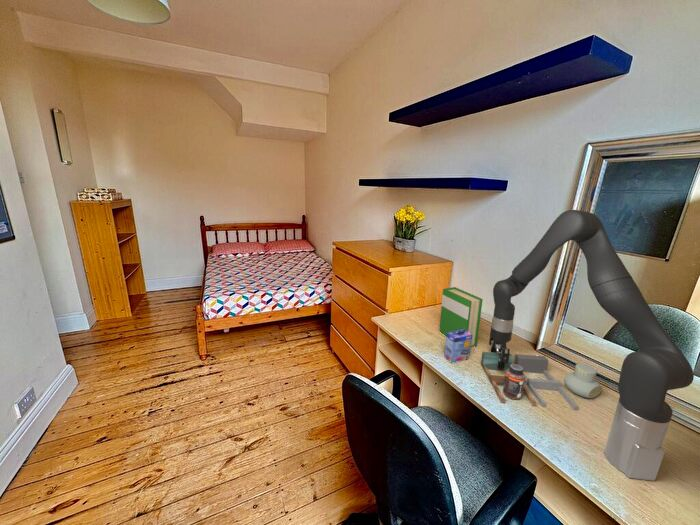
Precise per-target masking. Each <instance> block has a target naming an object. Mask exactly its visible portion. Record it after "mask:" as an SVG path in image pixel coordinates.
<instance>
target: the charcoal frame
mask: <svg viewBox="0 0 700 525" xmlns="http://www.w3.org/2000/svg"><path fill="white" fill-rule="evenodd" d="M513 364H517V365H520V366H522V367H523V373H532V374H533V373H535V374H543V375H544V376H545V377H546V378H547V379H543V378H531V377H528V376H526V375H525V382H524V385H526V386H527V388H528V389H529V392H531V394H532V396H533V397H534V399H536V400H537V402H538V403H539V405H540V406H541V407H543V408H545V407H546V404H547V402H546V401H545V400H544V399H543V397H542V395H541V394H540V393H539V392H538V391H537V389H539V390H550V391H557V392H559V394H560V395H561V397H563V398H564V400H565V401H566V402H567V403H568V405H569V406H570V407H571V409H573V410H574V411H576V410H577V411H578V408H579V405H578V404H577V403H576V402H575V401H574V400H573V398H572V397H571V396H570V395H569V393H567V392H566V391H565V389H564V388H563V387H562V385H563V383H562V382H561V381H560V380H558V379H557V380H556V379H555V378H554V377H553V376H552V375H551V373H550V372H549V371H547V370H548V364H549V359H548V358H547V357H546V356H545V355H533V354H531V355H530V354H521V353H520V354H518V353H516V354H515V356H514V360H513Z"/></svg>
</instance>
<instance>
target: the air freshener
mask: <svg viewBox="0 0 700 525" xmlns="http://www.w3.org/2000/svg"><path fill="white" fill-rule="evenodd" d="M597 374H598V372H597V369H595V368H594V367H593V366H592V365H589V364H586V363H577V364H575V366H574V371H573V372H569V373H568V374H567V375H565V377H564V379H563V383H564V384H563V385H565V387H566V388H567V389H568V390H569V391H570V392H572V393H573V394H574V395H577V396H580V397H582V398H586V399H593V398H595V397H597V396H598V395H600V394H601V392H602V390H603V389H602V388H603V387H602V386H601V384H600V383H599V382H598V380H596V377H597Z"/></svg>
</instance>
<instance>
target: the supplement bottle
mask: <svg viewBox="0 0 700 525" xmlns="http://www.w3.org/2000/svg"><path fill="white" fill-rule="evenodd" d="M525 376H526V374H525V372H523V367H522V366H520V365H517V364H511V365H510V368H509V369H507V371H506V370H505V381H504V386H503V387H502V388H503V390H502V391H503V392H502V393H503V395H504V396H506V397H507V398H510V399H511V400H512V399H513V400H521V399H522V396H523V394H524V392H523V387H524V385H525Z"/></svg>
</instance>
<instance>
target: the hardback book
mask: <svg viewBox="0 0 700 525" xmlns="http://www.w3.org/2000/svg"><path fill="white" fill-rule="evenodd" d="M482 306H483V298H481V297H479V296H477V295H475V294H472V293H470V292H468V291H464V290H463V289H460V288H458V287H455V286H453V287H446V288H443V289H442V299H441V310H440V320H439V331H440V332H441V333H442V334H444V335H445V336H447V333H448V332H452V331H458V330H462V329H466V331H468V332H469V333H471V334H472V342H471V347H472V346H473V347H474V346H475V347H474V348H477V346H478V339H479V338H478V337H479V332H480V323H481V316H482V315H481V314H482ZM442 334H441V335H442ZM445 336H444V337H445Z"/></svg>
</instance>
